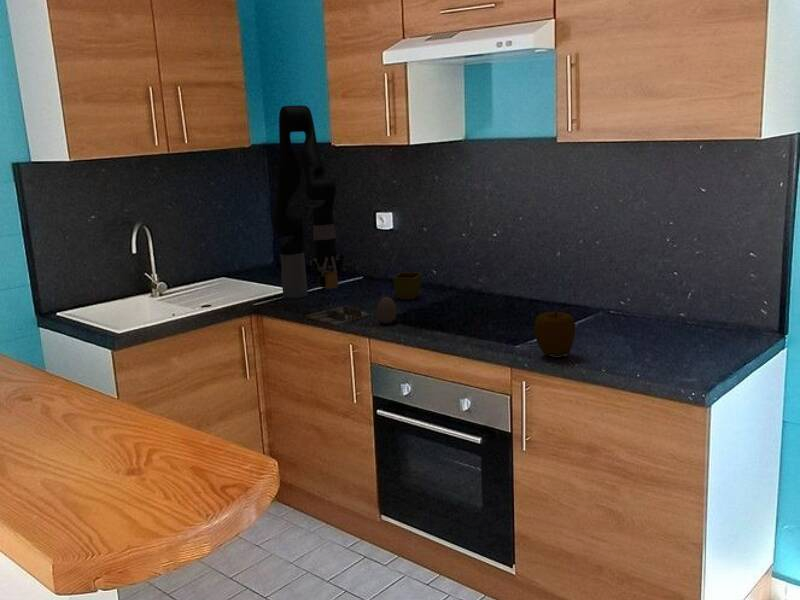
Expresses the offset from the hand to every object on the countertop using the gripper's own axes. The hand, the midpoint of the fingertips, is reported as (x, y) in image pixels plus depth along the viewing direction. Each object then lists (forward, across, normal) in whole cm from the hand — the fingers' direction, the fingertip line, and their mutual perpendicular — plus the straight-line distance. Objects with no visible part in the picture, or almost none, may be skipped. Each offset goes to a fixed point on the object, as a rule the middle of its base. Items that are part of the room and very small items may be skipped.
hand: (328, 285), depth 282 cm
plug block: (+1, 0, 0) cm, 1 cm away
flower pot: (+11, -33, +4) cm, 35 cm away
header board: (+11, 0, +5) cm, 12 cm away
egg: (+11, -5, +26) cm, 28 cm away
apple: (+12, -13, +90) cm, 92 cm away
